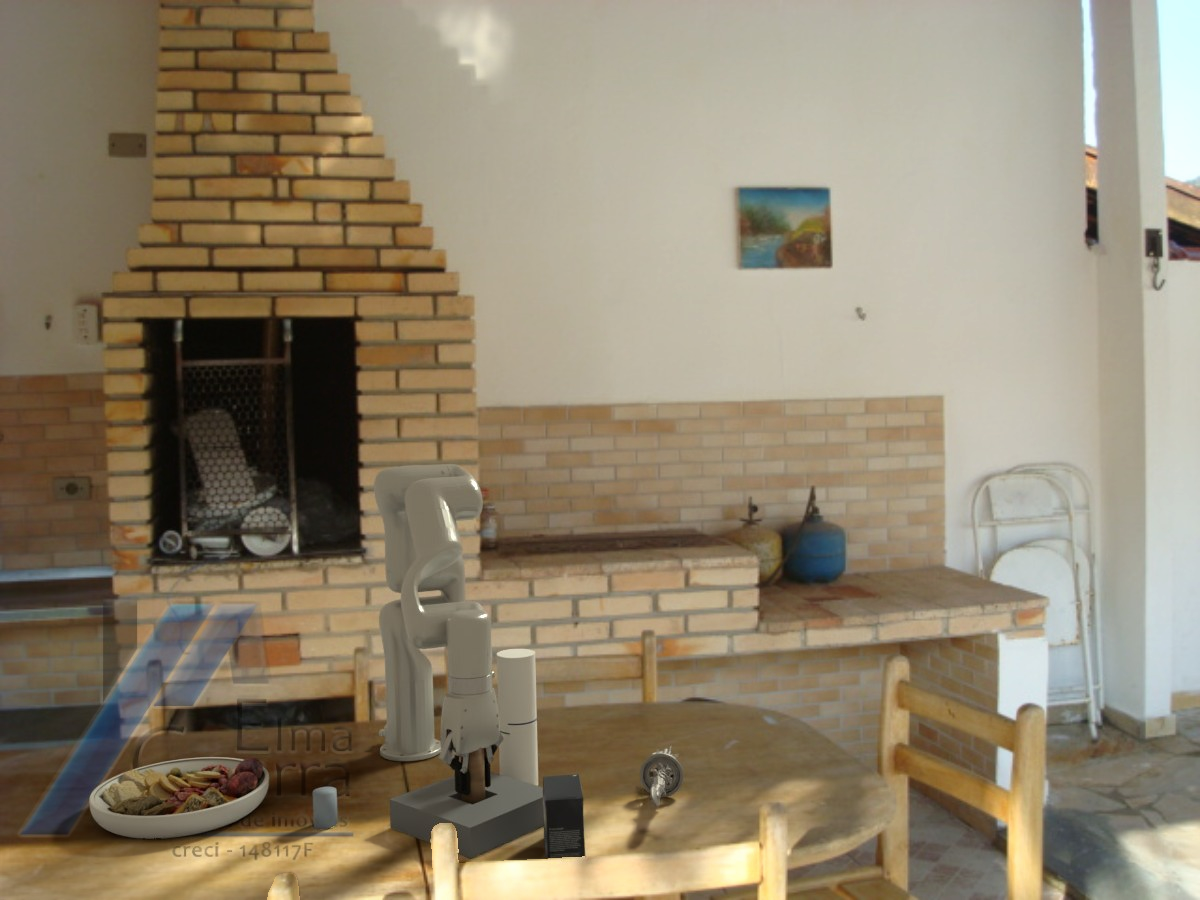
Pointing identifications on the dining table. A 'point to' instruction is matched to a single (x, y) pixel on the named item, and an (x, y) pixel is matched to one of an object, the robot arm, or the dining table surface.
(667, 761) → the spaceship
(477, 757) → the long pin
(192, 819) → the bowl
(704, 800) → the dining table surface
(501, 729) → the cylindrical container
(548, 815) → the small box
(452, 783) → the collar block
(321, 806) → the short pin
